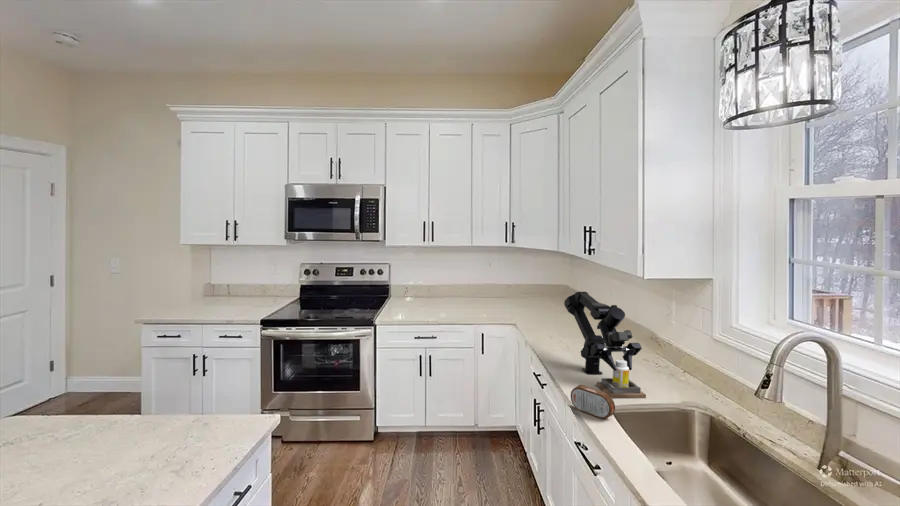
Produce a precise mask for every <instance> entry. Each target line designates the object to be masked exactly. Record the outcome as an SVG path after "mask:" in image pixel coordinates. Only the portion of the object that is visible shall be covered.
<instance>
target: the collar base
mask: <svg viewBox="0 0 900 506" xmlns="http://www.w3.org/2000/svg"><path fill="white" fill-rule="evenodd" d="M595 386H597V387H598V388H599V389H600V391H603V392H605V393H607V394H608V395H609V396H610V397H611V398H612V399H647V394H646V393H644V392H643V391H642V390H641V389H642V388H641V387H640V386H639V385H637V384H636V383H634V382H633V381H632V380H631V379H629V384H628V387H614V386H613V377H610V378H609V377H607V378H606V377H605V378H601V381H597V382H596V385H595Z"/></svg>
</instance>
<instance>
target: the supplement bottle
mask: <svg viewBox="0 0 900 506" xmlns="http://www.w3.org/2000/svg"><path fill="white" fill-rule="evenodd" d="M615 366H616V371H614V370H613V369H612V378H613V386H614V387H628V384H629V380H630V379H629V377H630V370H629V367H628V366H627V361H624V359H616V360H615Z"/></svg>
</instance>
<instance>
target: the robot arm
mask: <svg viewBox="0 0 900 506" xmlns="http://www.w3.org/2000/svg"><path fill="white" fill-rule="evenodd" d="M563 303H564V307H565V308H566V310H567V312H568V313H569V314H571V315H572V316H573V317H574V319H575V321H576V323H577V326H578V328H579V330H580V332H581V335H582V336H583V339H584V342H583V343H584V344H583V348H582V349H581V350H580V357H581V358H583V359H585V365H584V367H583V368H582V367H581V368H582V371H583V372H585V373H586V374H587V375H603V372H602V371H601V370H600V364H601V363H600V362H601V360H602V361H603V362H605V363H606V364H607V365H608V366H609V367H610V368H611V369H612V371H613V370H614V371H616V366H615V365H616V362H615V360H614V359H613V356H612V353H618V352H619V353H621V352H622V353H623V355H622V360H624V361H627V366H628V367H629V371H632V370H633V356H636V355H638V353H639V352H640V351H641V350H642V349H643V347H642V345H641V344H640V343H639V342H629V341H630V339H632V338H633V334H632V331H631V330H630V329H626V330H624V331H617V329H616V328H617V327H618V326H619V325H620V324H621V322H622V321H624V319H625V317H626V313H625V311H624V310H623V309H622V308H621V307H618V306H617V304H612V305H608V304H606V303H601V302H599V301H597V300H596V299H595V298H594V297H592V296H591V295H590V294H589V293H588V292H587V291H577V292H575V293H574V294H571V295H570V296H568V297H567V298H566V299H565V300H564V301H563ZM585 308H586V309H588V311H590V313H589V315H590V316H591V317H592V319H593V320H595V321H596V320H598V321H599V322H598V324H597V326H596V330H600V333H601V335H600V334H599V335H597V334H596V333H595V331H594V328H593V327H592V325H591V322H590V321H589V318H588V317H587V315H586V312H585ZM627 341H628V344H627V345H626V346H623V345H625V344H626V342H627Z"/></svg>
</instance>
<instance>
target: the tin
mask: <svg viewBox="0 0 900 506" xmlns="http://www.w3.org/2000/svg"><path fill="white" fill-rule="evenodd" d="M570 401H571V403H572V405H573V407H574V408H575V409H576V410H578V411H580V412H582V413H584V414H588V415H590V416H593V417H595V418H597V417H598V419H602V420H604V419H608V418H609V417H612V416H613V415H614V414H615V412H616V405H615V401H614V398H611V397H610V396H609V395H608V394H607V393H605V392H603V391H602V390H599V389H597V388H592V387H590V386H587V385H584V384H579V385H577V386H576V387H574V388H573V389H572V390H571V391H570Z"/></svg>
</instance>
